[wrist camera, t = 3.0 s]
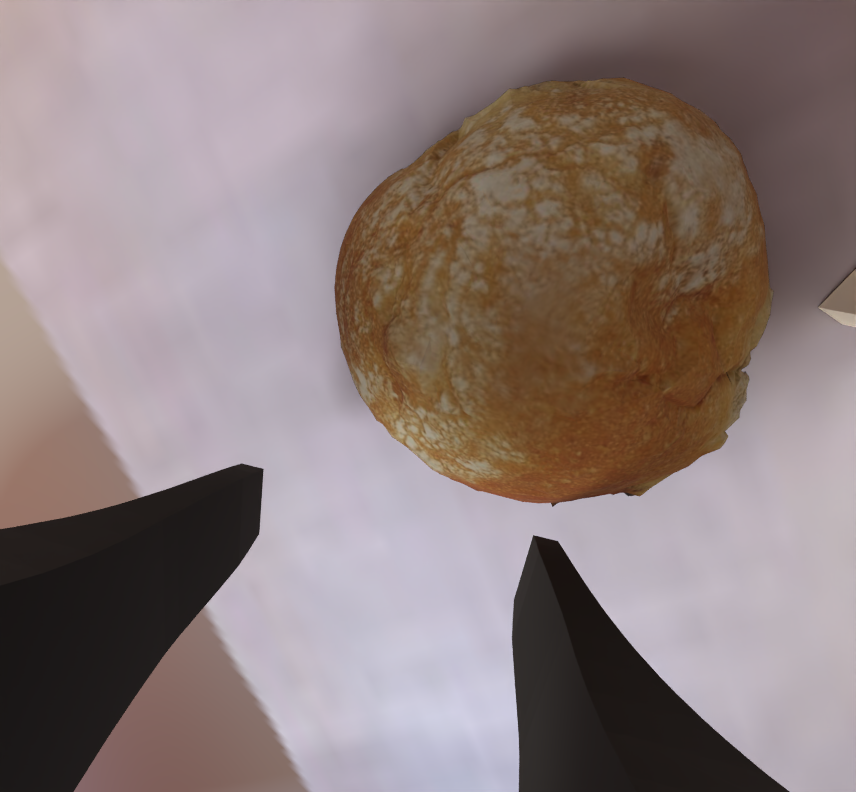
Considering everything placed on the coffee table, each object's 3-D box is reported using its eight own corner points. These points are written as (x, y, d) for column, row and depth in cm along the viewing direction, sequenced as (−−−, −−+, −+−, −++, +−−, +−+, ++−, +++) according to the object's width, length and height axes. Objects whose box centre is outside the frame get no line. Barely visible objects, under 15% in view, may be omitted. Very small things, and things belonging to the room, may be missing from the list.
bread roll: (603, 117, 15) (576, -181, 8) (835, 378, 12) (1148, 305, 5) (376, 307, 18) (200, 224, 11) (520, 550, 15) (415, 665, 8)
